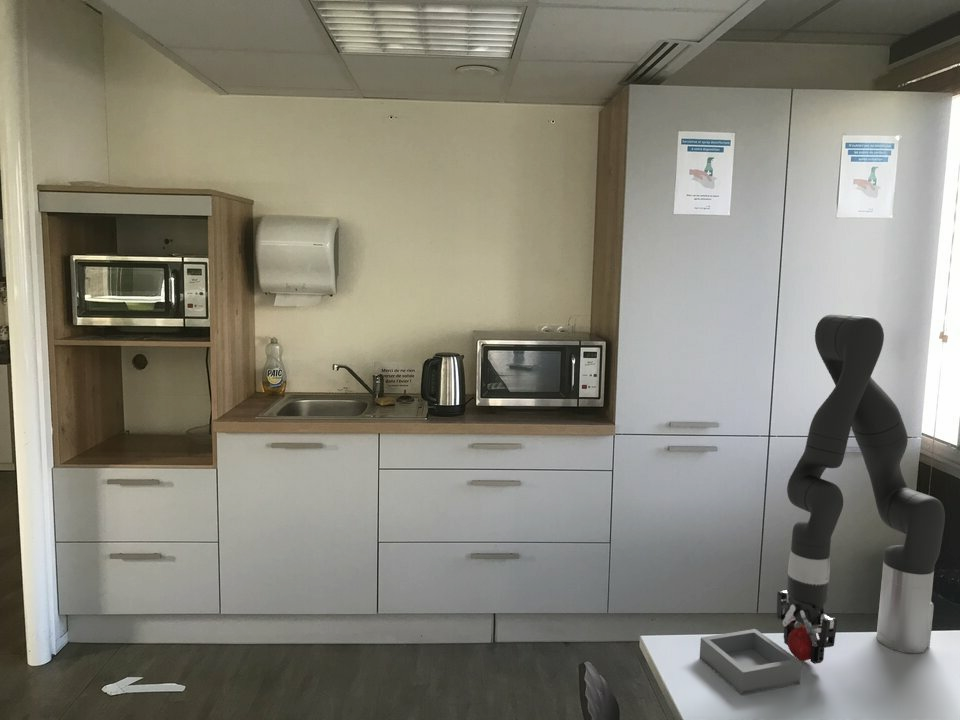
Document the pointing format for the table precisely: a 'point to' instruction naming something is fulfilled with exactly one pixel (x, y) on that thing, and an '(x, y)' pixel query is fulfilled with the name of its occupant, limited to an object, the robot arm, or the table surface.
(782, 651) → the box
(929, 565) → the robot arm
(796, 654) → the pomegranate
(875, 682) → the table surface
